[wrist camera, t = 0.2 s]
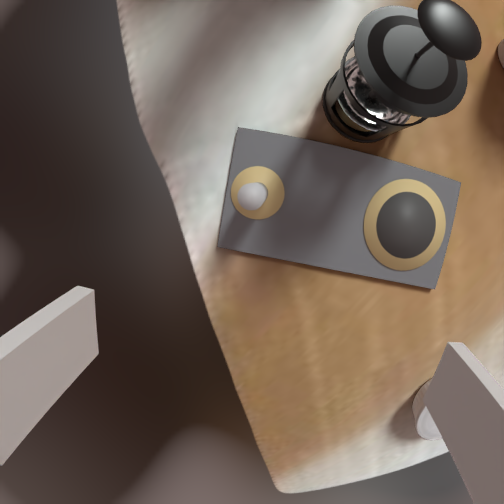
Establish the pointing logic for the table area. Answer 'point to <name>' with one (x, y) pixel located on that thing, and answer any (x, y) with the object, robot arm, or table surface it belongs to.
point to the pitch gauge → (337, 209)
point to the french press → (403, 68)
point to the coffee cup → (501, 52)
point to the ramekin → (424, 416)
